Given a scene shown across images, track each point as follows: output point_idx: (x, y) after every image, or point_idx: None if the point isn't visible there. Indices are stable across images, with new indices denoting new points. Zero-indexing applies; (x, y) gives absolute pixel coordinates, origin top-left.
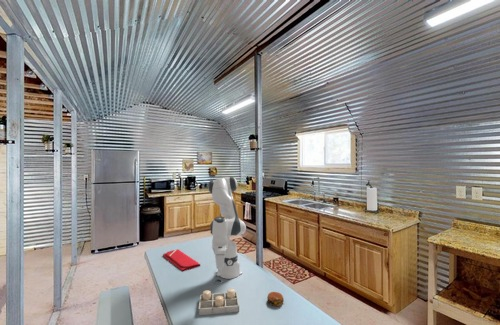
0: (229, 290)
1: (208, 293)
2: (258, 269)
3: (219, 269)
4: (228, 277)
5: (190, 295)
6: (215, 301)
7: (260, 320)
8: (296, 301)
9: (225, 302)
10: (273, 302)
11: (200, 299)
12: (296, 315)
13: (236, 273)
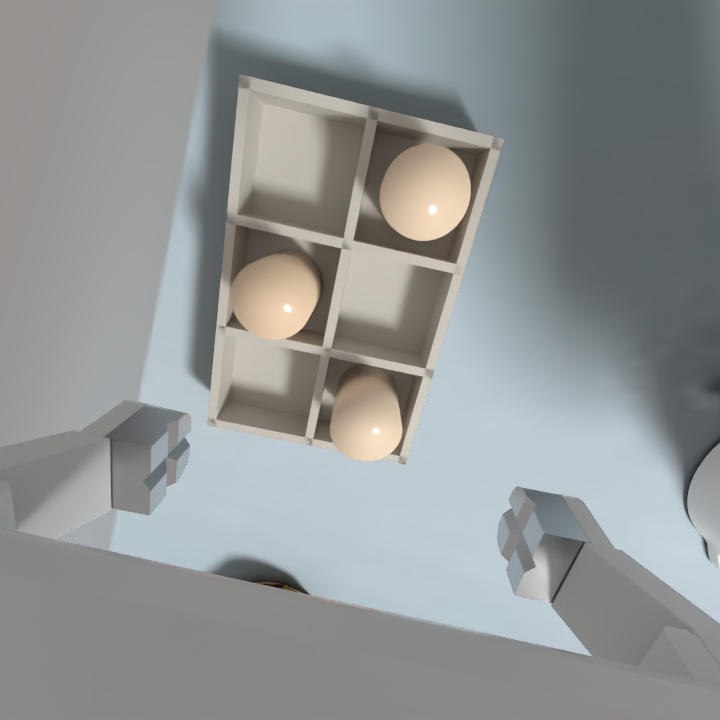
0: (372, 418)
1: (395, 209)
2: None
3: (18, 480)
4: (715, 463)
5: (629, 53)
6: (265, 257)
7: None
8: None
9: (281, 343)
10: None
11: (409, 123)
12: None
13: (718, 537)
